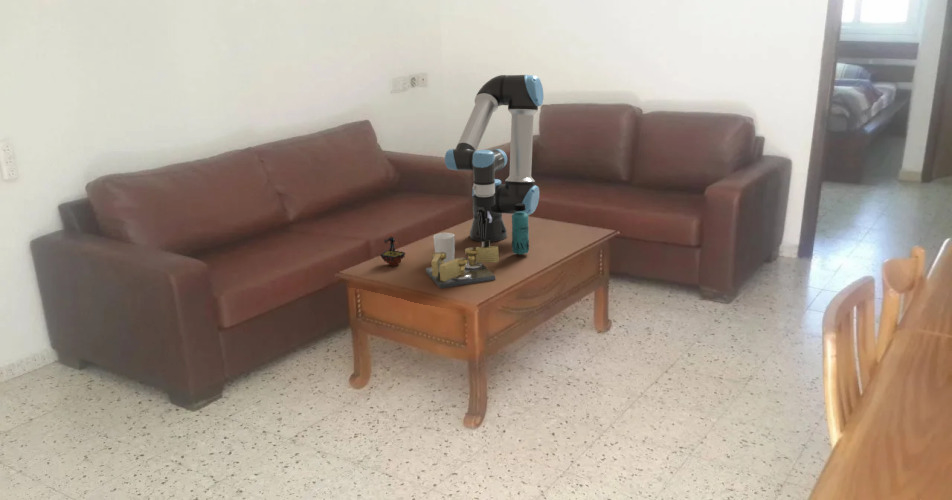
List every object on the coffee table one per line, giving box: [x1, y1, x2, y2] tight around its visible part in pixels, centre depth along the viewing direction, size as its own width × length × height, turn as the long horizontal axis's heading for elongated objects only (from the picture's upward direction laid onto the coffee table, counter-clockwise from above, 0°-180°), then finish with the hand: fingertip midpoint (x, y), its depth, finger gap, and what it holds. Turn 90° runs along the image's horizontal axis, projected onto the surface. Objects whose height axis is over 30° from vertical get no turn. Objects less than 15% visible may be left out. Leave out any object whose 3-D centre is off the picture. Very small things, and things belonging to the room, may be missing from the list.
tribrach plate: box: [425, 261, 496, 289], centre depth 279 cm, size 20×18×3 cm
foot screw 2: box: [440, 257, 469, 281], centre depth 270 cm, size 12×5×6 cm, turn 139°
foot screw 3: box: [464, 245, 500, 265], centre depth 283 cm, size 12×5×6 cm, turn 90°
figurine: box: [380, 234, 406, 267], centre depth 292 cm, size 10×8×12 cm
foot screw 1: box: [431, 252, 446, 276], centre depth 276 cm, size 12×5×6 cm, turn 172°
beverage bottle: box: [511, 203, 530, 255], centre depth 295 cm, size 6×7×20 cm
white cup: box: [433, 232, 456, 263], centre depth 294 cm, size 8×8×10 cm
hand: (486, 257), depth 286 cm, fingers closed
